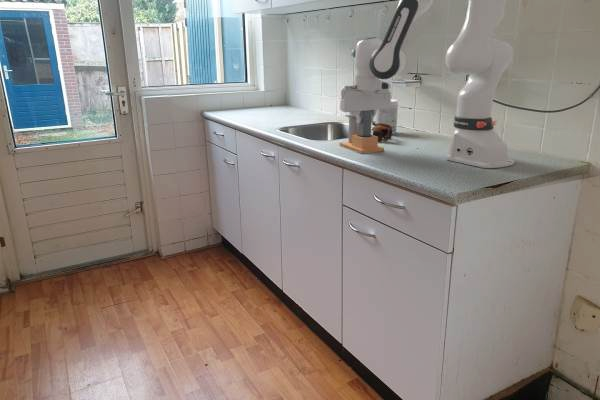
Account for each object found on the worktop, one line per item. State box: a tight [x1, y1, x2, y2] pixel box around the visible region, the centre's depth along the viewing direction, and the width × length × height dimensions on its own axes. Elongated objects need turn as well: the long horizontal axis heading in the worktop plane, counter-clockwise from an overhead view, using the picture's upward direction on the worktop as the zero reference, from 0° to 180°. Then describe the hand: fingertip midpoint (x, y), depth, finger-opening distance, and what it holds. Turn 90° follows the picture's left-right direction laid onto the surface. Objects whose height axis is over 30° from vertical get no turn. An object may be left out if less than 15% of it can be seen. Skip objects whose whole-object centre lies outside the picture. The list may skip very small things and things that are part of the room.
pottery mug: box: [371, 123, 393, 143], centre depth 185 cm, size 12×10×8 cm
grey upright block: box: [358, 110, 372, 137], centre depth 168 cm, size 4×4×10 cm
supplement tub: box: [374, 98, 399, 135], centre depth 200 cm, size 10×10×15 cm
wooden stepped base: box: [339, 112, 385, 154], centre depth 170 cm, size 17×10×19 cm, turn 24°
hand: (365, 122), depth 168 cm, fingers closed on grey upright block, 3 cm apart
